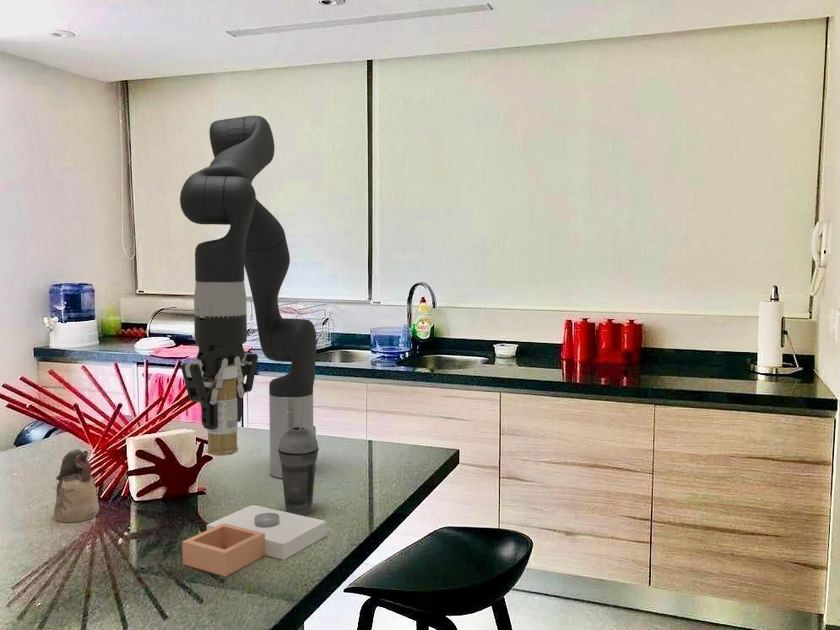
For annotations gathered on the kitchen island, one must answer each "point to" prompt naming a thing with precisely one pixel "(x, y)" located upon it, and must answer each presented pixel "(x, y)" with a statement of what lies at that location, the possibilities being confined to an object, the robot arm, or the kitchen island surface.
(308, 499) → the beverage cup
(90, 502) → the figurine
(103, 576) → the kitchen island surface
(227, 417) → the sprinkles bottle
